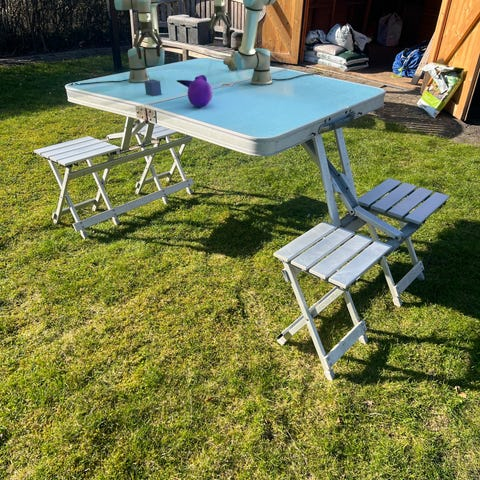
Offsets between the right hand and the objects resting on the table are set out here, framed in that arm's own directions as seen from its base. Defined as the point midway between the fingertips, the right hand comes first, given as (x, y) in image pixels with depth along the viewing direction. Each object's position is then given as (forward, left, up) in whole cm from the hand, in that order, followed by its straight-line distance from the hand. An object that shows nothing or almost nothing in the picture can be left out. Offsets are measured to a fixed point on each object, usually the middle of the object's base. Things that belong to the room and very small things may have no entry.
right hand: (220, 37), depth 331 cm
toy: (+38, +76, -28) cm, 89 cm away
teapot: (-18, -25, -28) cm, 42 cm away
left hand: (+59, +36, -5) cm, 69 cm away
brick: (+59, +37, -28) cm, 75 cm away
